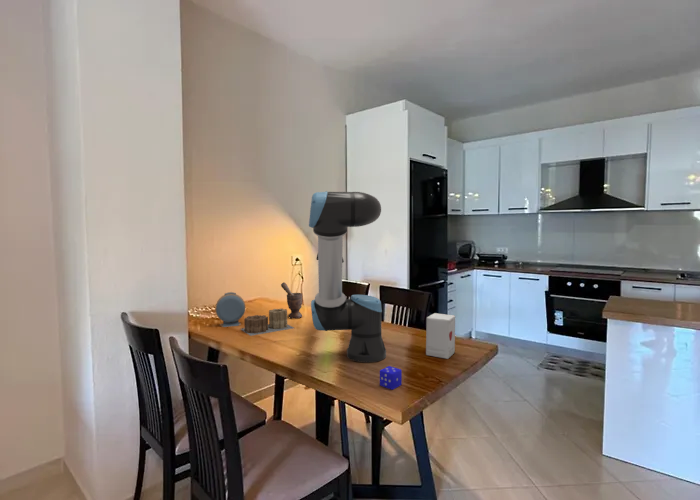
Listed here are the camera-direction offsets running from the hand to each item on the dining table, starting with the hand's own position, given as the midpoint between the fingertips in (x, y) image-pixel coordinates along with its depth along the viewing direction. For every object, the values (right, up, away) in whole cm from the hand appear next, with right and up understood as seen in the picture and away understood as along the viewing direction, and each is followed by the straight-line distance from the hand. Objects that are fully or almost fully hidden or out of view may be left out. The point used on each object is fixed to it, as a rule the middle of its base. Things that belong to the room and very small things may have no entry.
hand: (329, 276), depth 176 cm
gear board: (-30, -27, +5) cm, 40 cm away
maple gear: (-25, -25, +8) cm, 37 cm away
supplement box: (+45, -28, -28) cm, 60 cm away
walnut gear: (-35, -25, +2) cm, 43 cm away
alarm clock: (-50, -27, +13) cm, 58 cm away
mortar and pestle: (-22, -25, +32) cm, 47 cm away
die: (+22, -30, -57) cm, 68 cm away
